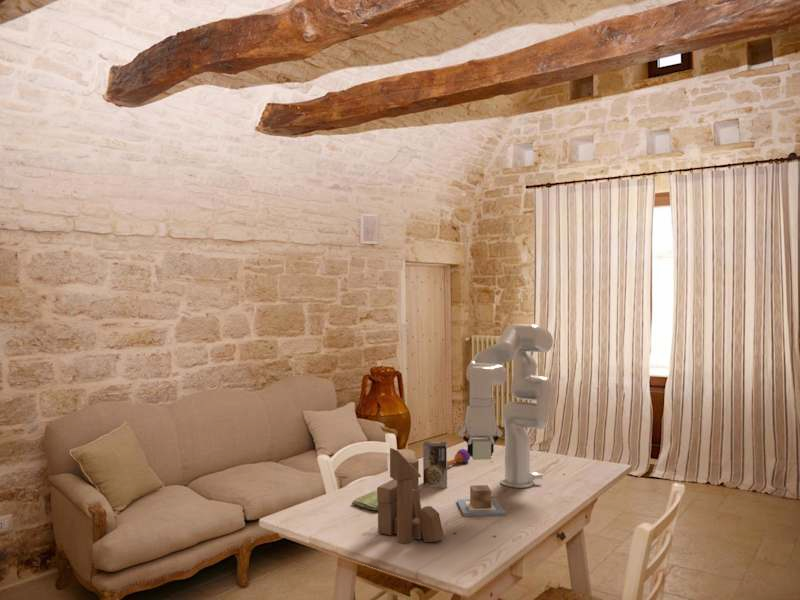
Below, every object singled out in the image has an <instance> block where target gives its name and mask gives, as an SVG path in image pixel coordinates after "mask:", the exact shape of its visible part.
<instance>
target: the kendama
mask: <svg viewBox="0 0 800 600" xmlns="http://www.w3.org/2000/svg"><path fill="white" fill-rule="evenodd" d="M470 458H471V456H470V455H469V453H468V449H465V448H461V449H459V450H458V451H457V452H456V453H455V456H454V457H453V459H450V460H447V469H448V468H449V467H451V465H453V464H454V463H458V464H467V463H468V462H469V461H470Z"/></svg>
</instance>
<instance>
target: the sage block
mask: <svg viewBox="0 0 800 600" xmlns="http://www.w3.org/2000/svg"><path fill="white" fill-rule="evenodd" d="M472 445H473V456H470V458H471V459H472V460H474V461H475V460H476V461H477V460H483V461H484V460H492V456H491V441H490V440H489V438H488V437H474V438H473V440H472Z"/></svg>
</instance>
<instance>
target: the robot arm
mask: <svg viewBox="0 0 800 600" xmlns="http://www.w3.org/2000/svg"><path fill="white" fill-rule="evenodd" d="M553 343H554V341H553V336H552V333H550V331H548V330H547V329H545V328H544V327H542V326H539V325H537V324H528V323H527V324H526V323H513V324H510V325H507V326H506V328H505V329H504V330H503V332H502V333H501V334H500V337H499V338H498V340H497V341H496V343H495V344H493V345H491V346H488V347H486V348H484V349H482V350H481V351H479V352H477V353H476V354H475V355H474V356H473V358H472V359H471V360H470V362H469V363H468V365H467V368H466V372H465V374H466V379H467V381H468V382H469V405H467V406H466V411H465V420H464V426H462V428H461V429H460V430H459V431H458V432H457V433H458V434H457V435H458V436H459V437H460V438H461V439H463V440H464V441H465V442H466V444H467V450H468V453H469V455H470V457H471V456H473V445H472V440H473V438H475V437H487V438H488V439H489V440H490V441H491V457H492V456H493V453H494V449H495V448H494V446H495V443H496V442H497V441H498V440H499V439H500V437H502V436H503V435H504V476H503V477H501V478H500V483H501V484H502V485H503V486H506V487H510V488H515V489H519V488H520V489H521V488H522V489H523V488H530V487H533V486H534V484H535V481H534V480H536V479H537V480H542V479H543V474H542V473H538V472H532V471H531V439H530V438H531V437H530V435H529V433H528V431H527V429H533V430H543V429H545V428H546V427H547V426H548V422H549V419H550V411H551V406H552V399H553V391H554V389H553V384H552V380H551V379H550V378H549V377H545V376H540V375H536V374H537V367H538V364H537V362H536V360H535V358H534V357H533V355H532V354H531V353H533V352H534V353H547V352H549V351H551V349H552V348H553ZM513 360H514V370H513V376H512V381H511V387H510V391H511V396H512V397H514V398H515V399H518V400H525V401H517V400H516V401H515V400H514V401H512V400H511V401H508V402H506V403H505V404H504V406H503V408H502V418H503V419H502V420H503V425H504V432H503V431H502V430H501V429H500V428H499V426H498V425H497V424H496V423H497V422H496V414H495V412H496V411H495V407H494V406H493V404H496V403H497V399H496V398H493V387H494V386H495V387H499V386H502V385H503V384H505V383H506V382H507V379H508V370H507V368H506V367H505V366H504V365H502V364H507V363H509V362H511V361H513ZM526 401H535V403H534V402H526ZM465 434H466V435H467V436H466V435H465Z"/></svg>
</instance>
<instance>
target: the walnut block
mask: <svg viewBox="0 0 800 600" xmlns="http://www.w3.org/2000/svg"><path fill="white" fill-rule="evenodd" d="M469 490H470V491H469V493H470V494H469V496H470V498H469V499H470V503H471V505H472V507H473V508H474V509H481V508H491V499H492V490H491V488H490V487H489V485H488V484H485V485H484V484H481V485H479V484H478V485H477V484H476V485H470V487H469Z"/></svg>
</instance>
